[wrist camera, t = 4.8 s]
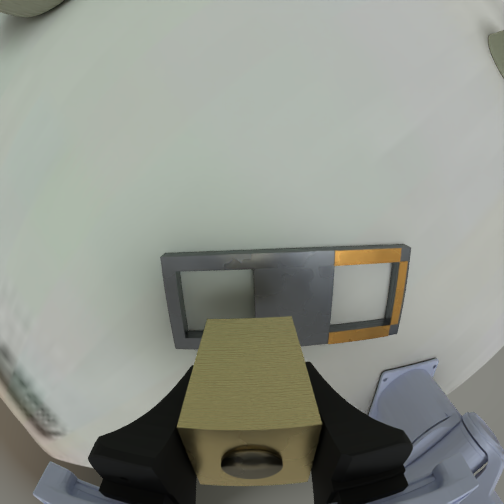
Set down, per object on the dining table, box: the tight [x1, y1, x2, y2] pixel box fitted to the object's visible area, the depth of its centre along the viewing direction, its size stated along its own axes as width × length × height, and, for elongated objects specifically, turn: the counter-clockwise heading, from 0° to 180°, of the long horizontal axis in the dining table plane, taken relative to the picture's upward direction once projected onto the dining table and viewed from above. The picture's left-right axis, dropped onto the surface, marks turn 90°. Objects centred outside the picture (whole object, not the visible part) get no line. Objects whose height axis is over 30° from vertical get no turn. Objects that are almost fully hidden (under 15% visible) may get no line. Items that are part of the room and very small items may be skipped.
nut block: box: [177, 316, 322, 486], centre depth 11 cm, size 4×4×8 cm
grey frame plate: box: [160, 244, 411, 349], centre depth 21 cm, size 8×20×1 cm, turn 92°
